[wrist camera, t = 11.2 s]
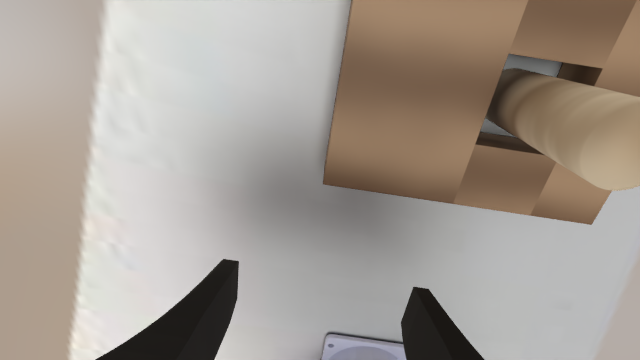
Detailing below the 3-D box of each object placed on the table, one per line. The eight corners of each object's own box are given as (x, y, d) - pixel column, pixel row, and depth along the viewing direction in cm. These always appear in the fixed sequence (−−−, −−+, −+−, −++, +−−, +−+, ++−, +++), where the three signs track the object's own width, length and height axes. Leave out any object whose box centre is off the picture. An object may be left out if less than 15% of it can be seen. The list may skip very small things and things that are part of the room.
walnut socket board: (560, 199, 22) (591, 224, 19) (324, 164, 22) (323, 184, 19) (667, -3, 17) (730, -8, 14) (359, -52, 16) (364, -68, 14)
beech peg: (522, 126, 20) (650, 196, 12) (471, 119, 20) (564, 183, 12) (545, 73, 19) (708, 109, 10) (490, 64, 18) (611, 94, 10)
